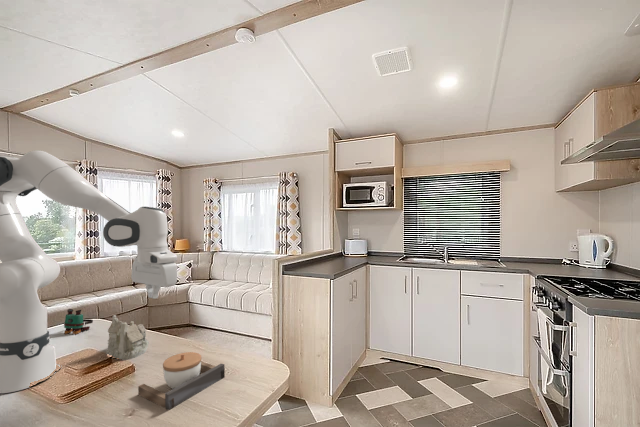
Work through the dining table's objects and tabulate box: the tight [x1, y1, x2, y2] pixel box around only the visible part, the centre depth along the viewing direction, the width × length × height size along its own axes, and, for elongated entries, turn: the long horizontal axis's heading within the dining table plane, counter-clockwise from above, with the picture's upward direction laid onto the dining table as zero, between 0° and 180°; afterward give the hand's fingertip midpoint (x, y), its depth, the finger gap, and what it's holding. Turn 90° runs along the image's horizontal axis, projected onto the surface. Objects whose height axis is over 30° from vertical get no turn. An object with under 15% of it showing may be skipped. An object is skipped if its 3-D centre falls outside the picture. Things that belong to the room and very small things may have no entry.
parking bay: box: [137, 360, 226, 411], centre depth 92 cm, size 14×19×4 cm
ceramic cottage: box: [105, 314, 150, 361], centre depth 119 cm, size 16×16×15 cm
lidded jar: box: [162, 351, 202, 390], centre depth 93 cm, size 11×11×9 cm
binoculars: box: [63, 308, 94, 335], centre depth 141 cm, size 9×11×10 cm
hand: (153, 297), depth 100 cm, fingers closed
